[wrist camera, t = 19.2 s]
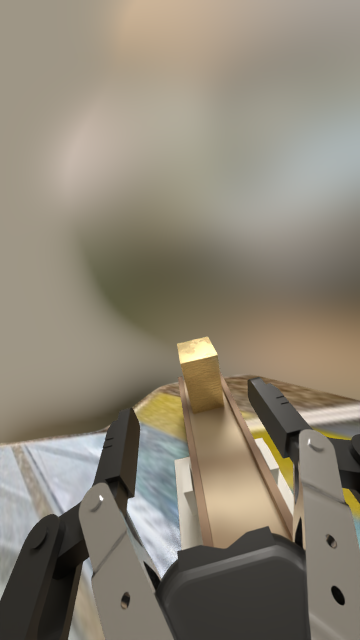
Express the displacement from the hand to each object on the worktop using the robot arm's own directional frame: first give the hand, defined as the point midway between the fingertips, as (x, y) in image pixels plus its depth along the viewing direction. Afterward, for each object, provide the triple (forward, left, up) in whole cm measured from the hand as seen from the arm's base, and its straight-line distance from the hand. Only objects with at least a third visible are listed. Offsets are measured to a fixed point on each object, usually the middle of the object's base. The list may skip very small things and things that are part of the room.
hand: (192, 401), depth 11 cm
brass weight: (-10, +6, -14) cm, 19 cm away
